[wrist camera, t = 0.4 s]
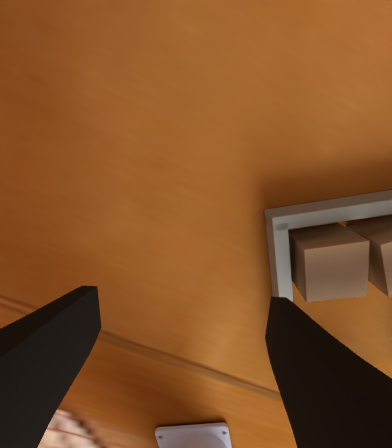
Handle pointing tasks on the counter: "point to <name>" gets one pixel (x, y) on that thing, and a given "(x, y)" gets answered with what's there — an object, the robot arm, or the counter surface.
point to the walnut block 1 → (328, 262)
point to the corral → (311, 216)
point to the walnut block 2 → (378, 250)
